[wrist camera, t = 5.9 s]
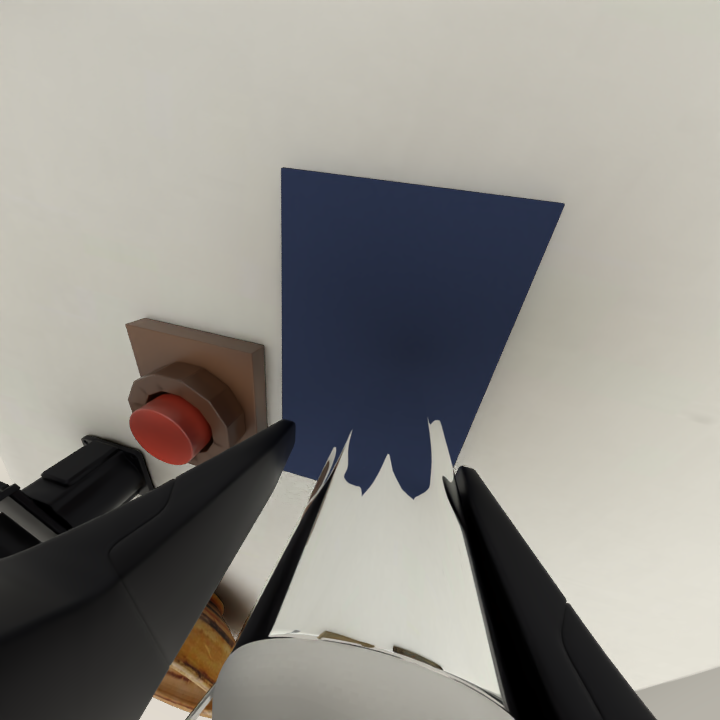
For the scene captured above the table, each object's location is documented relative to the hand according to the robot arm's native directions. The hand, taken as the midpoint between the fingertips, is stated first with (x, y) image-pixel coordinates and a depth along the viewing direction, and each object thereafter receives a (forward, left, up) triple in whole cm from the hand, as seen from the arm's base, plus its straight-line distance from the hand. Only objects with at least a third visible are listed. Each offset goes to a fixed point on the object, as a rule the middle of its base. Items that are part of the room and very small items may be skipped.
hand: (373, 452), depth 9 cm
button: (-7, +13, -5) cm, 15 cm away
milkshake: (0, 0, -3) cm, 3 cm away
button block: (-7, +13, -8) cm, 17 cm away
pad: (-2, +1, -8) cm, 8 cm away
